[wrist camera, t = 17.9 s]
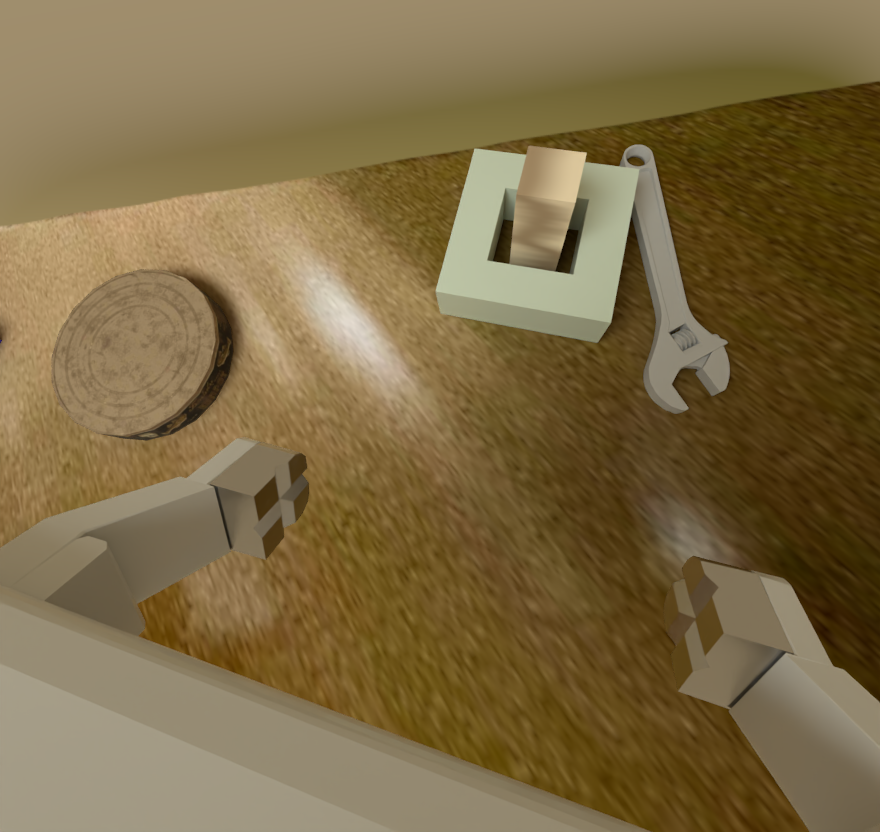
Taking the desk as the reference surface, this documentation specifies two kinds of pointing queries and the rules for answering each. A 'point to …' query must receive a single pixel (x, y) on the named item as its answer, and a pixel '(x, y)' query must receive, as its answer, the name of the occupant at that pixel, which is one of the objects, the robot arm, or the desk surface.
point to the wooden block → (544, 206)
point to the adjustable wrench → (670, 299)
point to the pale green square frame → (529, 289)
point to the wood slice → (141, 356)
